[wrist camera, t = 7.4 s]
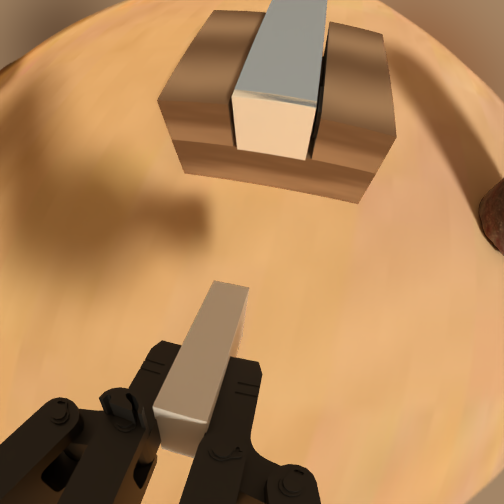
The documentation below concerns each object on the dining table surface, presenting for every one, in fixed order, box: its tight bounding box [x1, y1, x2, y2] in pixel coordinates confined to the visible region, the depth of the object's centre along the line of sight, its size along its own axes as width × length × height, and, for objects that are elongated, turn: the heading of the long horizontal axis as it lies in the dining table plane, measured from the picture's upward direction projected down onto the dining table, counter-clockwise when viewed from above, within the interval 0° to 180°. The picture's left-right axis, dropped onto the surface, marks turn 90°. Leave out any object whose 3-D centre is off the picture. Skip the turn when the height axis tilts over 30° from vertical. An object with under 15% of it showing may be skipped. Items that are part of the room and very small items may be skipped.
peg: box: [232, 0, 327, 160], centre depth 20 cm, size 18×4×5 cm, turn 168°
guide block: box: [157, 10, 396, 204], centre depth 22 cm, size 12×14×8 cm
